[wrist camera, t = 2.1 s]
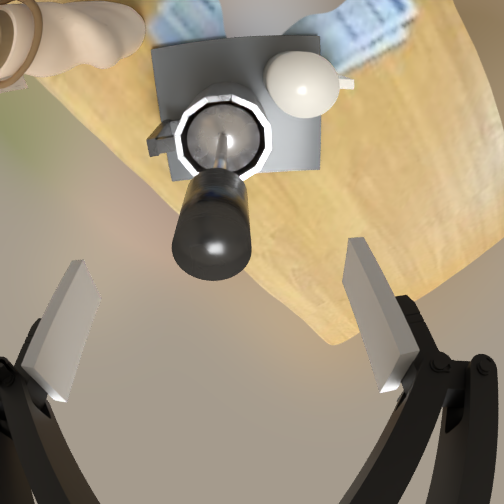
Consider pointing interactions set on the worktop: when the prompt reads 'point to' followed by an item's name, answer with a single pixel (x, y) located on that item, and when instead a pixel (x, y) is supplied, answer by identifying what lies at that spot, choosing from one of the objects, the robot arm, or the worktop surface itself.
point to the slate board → (248, 75)
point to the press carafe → (210, 96)
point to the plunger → (217, 195)
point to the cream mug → (303, 83)
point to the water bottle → (63, 37)
